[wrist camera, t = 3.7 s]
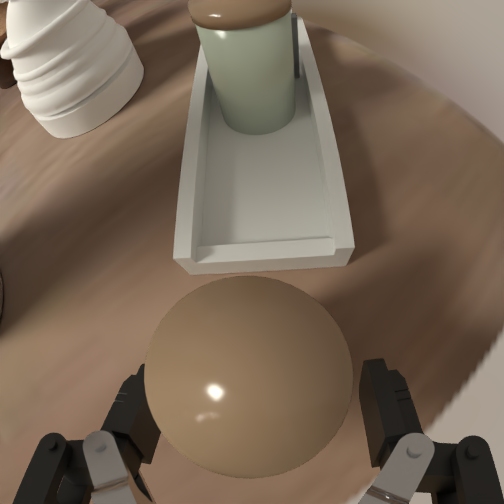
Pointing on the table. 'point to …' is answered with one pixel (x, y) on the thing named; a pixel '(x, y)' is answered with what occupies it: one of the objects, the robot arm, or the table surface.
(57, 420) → the table surface
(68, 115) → the honey pot
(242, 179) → the jar lane
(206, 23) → the sage jar
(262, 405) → the cream jar
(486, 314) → the table surface
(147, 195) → the table surface
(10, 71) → the pitcher
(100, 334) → the table surface
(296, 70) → the pusher
